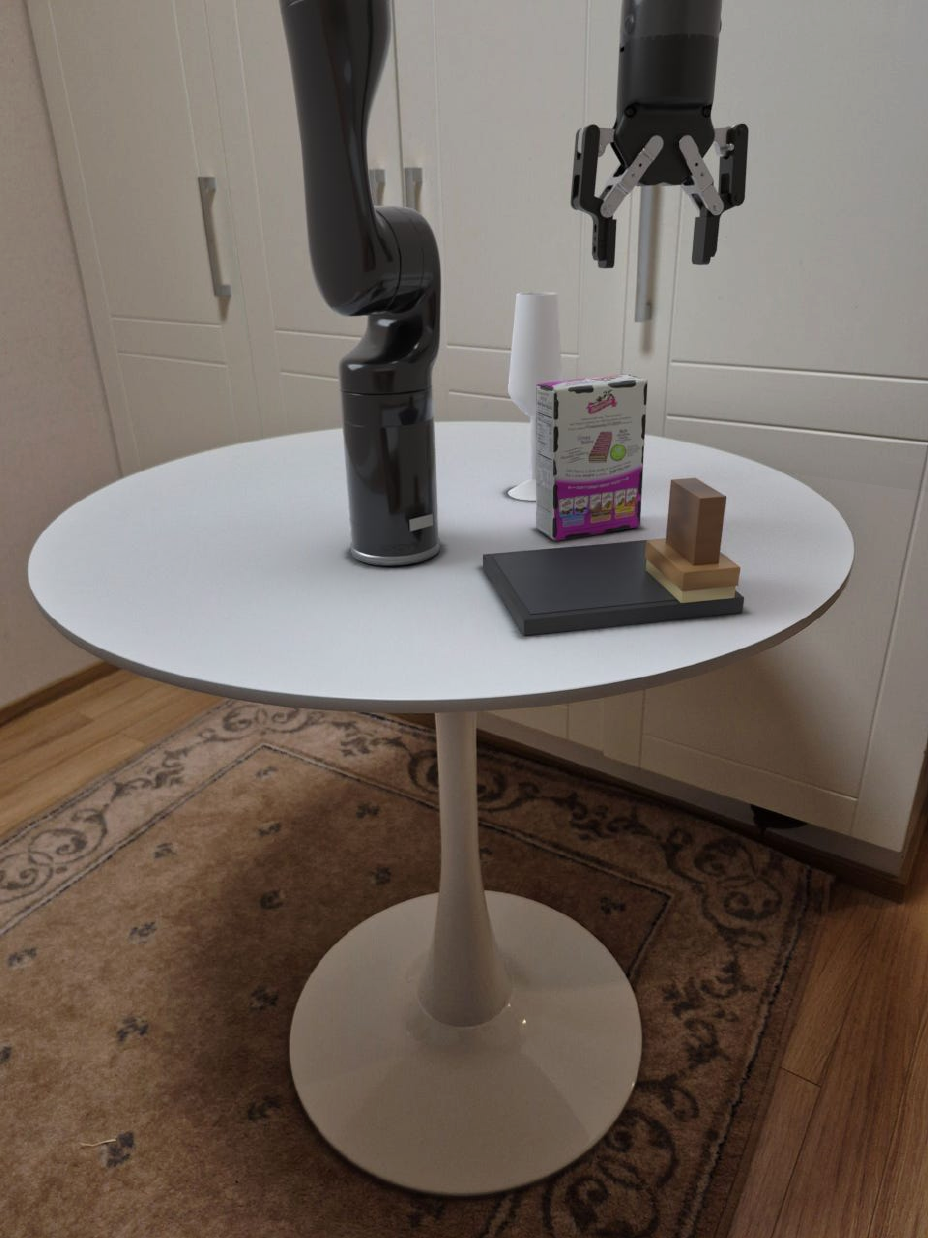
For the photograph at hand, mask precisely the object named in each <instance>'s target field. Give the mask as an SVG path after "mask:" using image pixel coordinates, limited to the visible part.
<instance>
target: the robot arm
mask: <svg viewBox="0 0 928 1238" xmlns="http://www.w3.org/2000/svg"><path fill="white" fill-rule="evenodd" d="M278 3H279V4H278V5H279V10H280V11H279V12H280V15H281V16H280V17H281V22H282V27H283V32H284V38H285V43H286V48H287V53H288V60H289V67H290V74H291V81H292V88H293V97H294V104H295V110H296V111H295V112H296V120H297V126H298V135H299V143H300V153H301V154H300V155H301V169H302V180H303V181H302V182H303V196H304V210H305V226H306V227H305V228H306V240H307V249H308V256H309V264H310V269H311V272H312V276H313V280H314V283H315V286H316V289H317V292H318V293H319V295H320V297H321V299H322V301H324V303H325V304H326V306H327V307H328V308H329V309H330V310H332V311H333V312H334V313H335V314H337V315H340V316H341V317H345V318H360V317H367V319H366V327H365V330H364V333H363V335H362V336H361V338H360V339H359V341H358V342H357V343H356V344H355V345H354V346H353V347H352V348H351V349H350V350H348V351H347V352H345V354H343V355H342V356H341V357H340V358H339V361H338V364H337V375H338V376H337V377H338V378H337V379H338V388H339V389H338V390H339V391H338V392H339V401H340V415H341V425H342V436H343V439H342V440H343V450H344V451H343V452H344V463H345V476H346V489H347V499H348V500H347V501H348V514H349V529H350V553H351V556H352V557H353V558H354V559H356V560H357V561H360V562H362V563H366V564H370V565H375V566H389V567H390V566H404V565H405V566H406V565H412V564H416V563H421V562H424V561H426V560H429V559H431V558H433V557H435V556H436V555H437V554H438V553H439V552H440V546H441V545H440V538H439V522H438V521H439V520H438V519H439V518H438V486H437V485H438V484H437V483H438V482H437V455H436V426H435V403H434V402H435V400H434V368H435V365H436V362H437V360H438V356H439V353H440V347H441V322H442V321H441V319H442V318H441V317H442V316H441V315H442V314H441V313H442V309H441V308H442V265H441V256H440V248H439V244H438V240H437V237H436V235H435V232H434V230H433V228H432V226H431V224H430V223H429V221H428V220H427V218H426V217H425V216H424V215H423V214H421V213H420V212H419V211H418V210H417V209H414V208H412V207H407V206H401V205H375V202H374V198H373V190H372V183H371V175H370V168H369V165H370V164H369V147H368V146H369V145H368V141H369V129H370V122H371V118H372V114H373V109H374V106H375V102H376V99H377V96H378V93H379V90H380V87H381V84H382V80H383V77H384V74H385V71H386V67H387V63H388V60H389V56H390V53H391V52H390V51H391V46H392V40H393V12H392V11H393V10H392V1H391V0H278ZM620 4H621V5H620V17H619V18H620V19H619V20H620V21H619V41H618V64H617V83H616V84H617V85H616V104H615V107H616V108H615V110H616V111H615V113H616V116H615V121H614V123H613V126H612V128H610V127H599V125H597V124H595V123H593V124H588V125H584V126H582V127H580V128H579V129H577V131H576V134H575V142H574V143H575V144H574V153H573V164H572V165H573V166H572V167H573V168H572V178H571V179H572V181H571V191H570V207H571V208H572V209H573V210H575V211H580V212H582V213H585V214H587V215H589V217H591V219H592V235H591V236H592V239H591V256H592V260H593V261H595V262H596V261H597V267H598V268H600V269H613V268H614V267H615V259H616V239H617V220H618V219H617V218H614V214H615V212H616V211H617V210H618V208H619V207H620V205H621V204H622V203H623V201H624V200H625V198H626V197H627V196H628V195H629V194H630V193H631V192H632V191H633V189H635V187H650V186H651V187H653V186H657V185H659V186H660V187H661V186H662V187H673V186H675V187H676V186H680V187H681V189H682V191H683V192H684V193H685V194H686V195H687V196H688V197H689V198H690V201H691V202H692V204H693V206H694V208H695V209H696V211H697V212H698V214H699V216H695V217H694V227H693V228H694V229H693V238H692V239H693V240H692V250H691V251H692V252H691V263H692V265H696V266H705V265H709V264H710V263H711V258H715V256H716V254H717V252H718V242H719V234H720V223H721V217H722V215H723V214H724V213H725V212H726V211H728V210H730V209H732V208H734V207H740V206H742V205H743V204H744V202H745V199H746V185H747V167H748V151H749V148H748V147H749V135H750V134H749V132H750V131H749V130H750V129H749V126H748V125H747V124H746V123H738V124H733V125H729V126H725V127H714V125H713V122H712V110H713V105H714V100H715V90H716V78H717V67H718V57H719V43H720V35H721V31H722V25H723V22H722V9H723V0H621V3H620ZM608 145H610V148H611V150H612V152H613V153H614V155H615V157H616V159H617V161H618V162H619V163H618V164H617V165H616V167H615V168H614V170H613V171H612V173H611V175H610V176H609V178H608V179H607V180H606V182H605V184H604V187H603V189H602V191H601V192H600V194H599V195H598V196H596V184H597V173H598V163H599V158H601V157H602V156H604V154H605V152H606V149H607V147H608ZM712 145H713V147H714V151H715V154H716V155H717V156H718V157H719V167H718V188H717V189H718V190H717V189H716V187H715V185H714V183H715V179H714V177H713V176H712V174H711V173H710V170H709V169H708V167H707V164H706V162H705V161H704V157H705V156H706V154H707V153H708V151H710V149H711V147H712Z"/></svg>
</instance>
